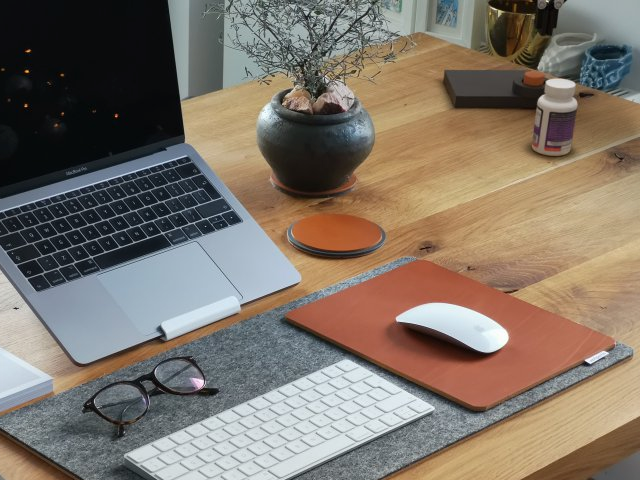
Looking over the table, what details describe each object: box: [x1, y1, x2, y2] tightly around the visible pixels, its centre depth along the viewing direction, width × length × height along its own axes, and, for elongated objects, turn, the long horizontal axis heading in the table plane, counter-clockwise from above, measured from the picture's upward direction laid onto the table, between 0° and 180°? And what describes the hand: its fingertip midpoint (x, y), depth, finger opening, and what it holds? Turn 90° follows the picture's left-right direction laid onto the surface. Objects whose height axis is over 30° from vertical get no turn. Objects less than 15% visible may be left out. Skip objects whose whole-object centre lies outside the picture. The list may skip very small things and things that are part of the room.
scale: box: [443, 69, 551, 109], centre depth 174 cm, size 15×13×4 cm
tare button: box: [523, 70, 545, 86], centre depth 170 cm, size 3×3×2 cm
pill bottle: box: [531, 78, 579, 157], centre depth 154 cm, size 5×5×10 cm
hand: (544, 33), depth 165 cm, fingers closed
